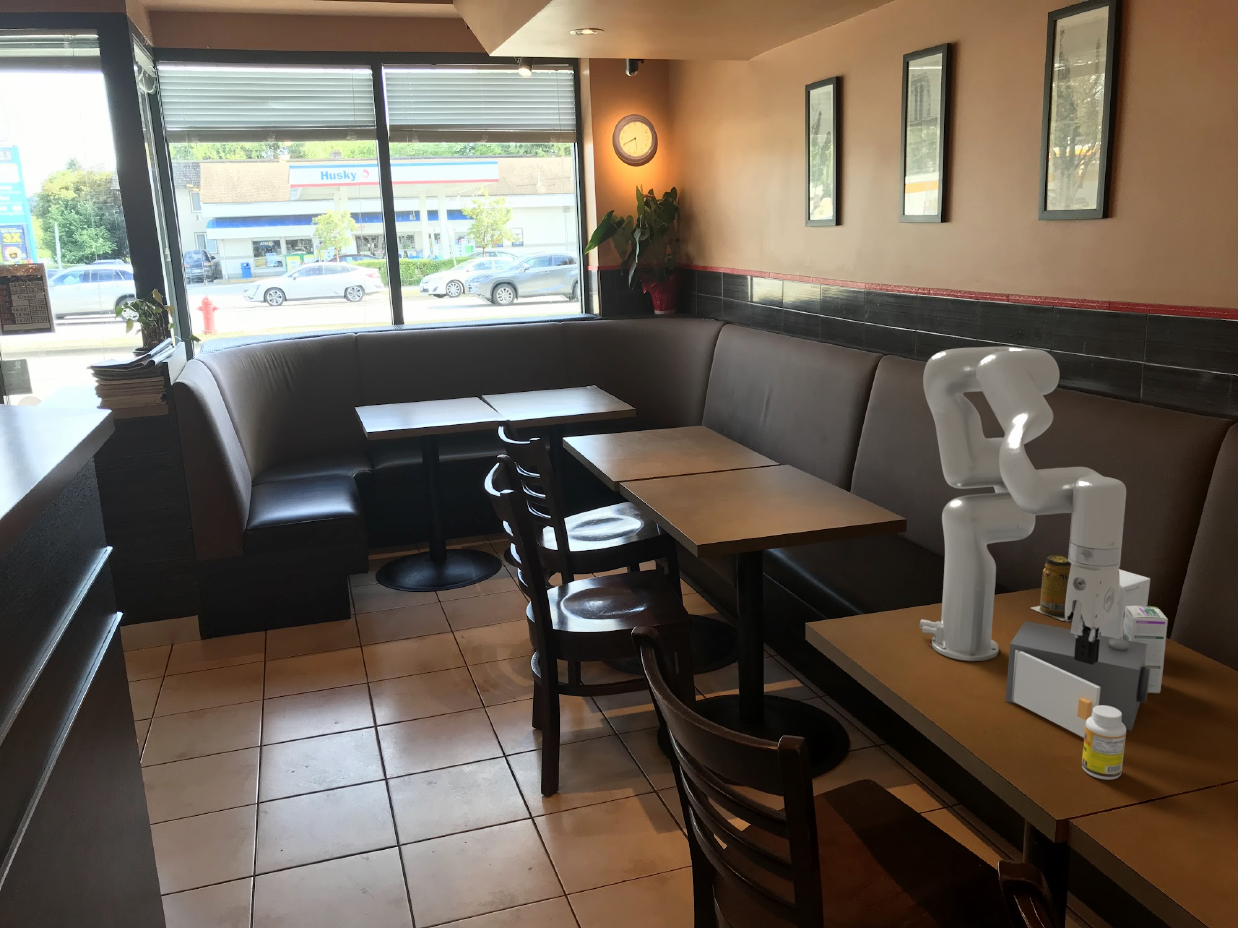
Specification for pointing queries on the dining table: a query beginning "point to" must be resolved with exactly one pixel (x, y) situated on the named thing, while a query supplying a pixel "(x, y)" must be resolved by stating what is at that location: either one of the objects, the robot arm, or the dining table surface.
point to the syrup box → (1148, 638)
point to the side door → (1053, 692)
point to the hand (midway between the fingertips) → (1086, 660)
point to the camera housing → (1089, 665)
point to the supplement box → (1127, 601)
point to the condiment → (1054, 587)
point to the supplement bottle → (1104, 743)
